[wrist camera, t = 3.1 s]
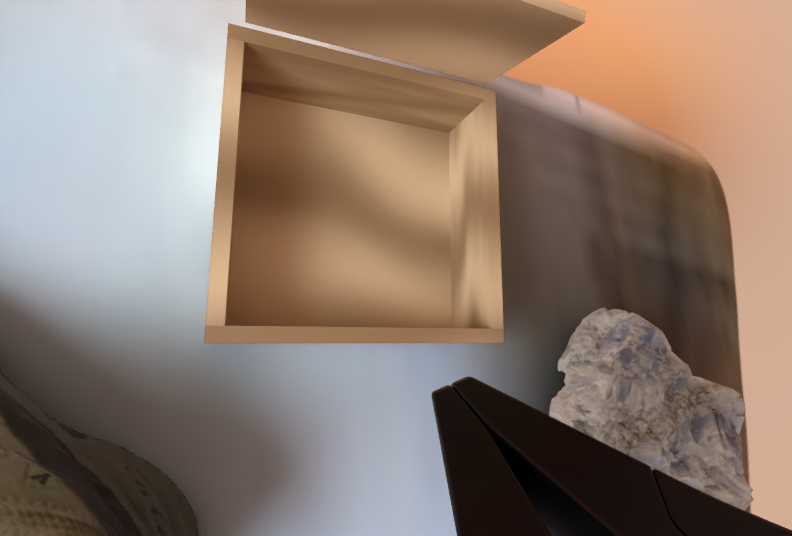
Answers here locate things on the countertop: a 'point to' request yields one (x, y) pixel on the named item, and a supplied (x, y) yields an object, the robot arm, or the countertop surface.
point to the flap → (427, 29)
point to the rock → (652, 404)
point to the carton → (352, 201)
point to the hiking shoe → (78, 481)
